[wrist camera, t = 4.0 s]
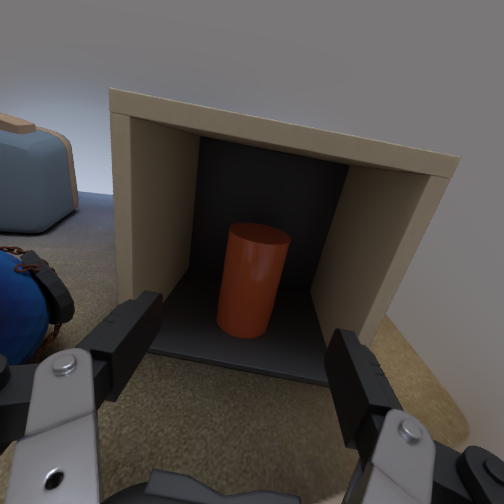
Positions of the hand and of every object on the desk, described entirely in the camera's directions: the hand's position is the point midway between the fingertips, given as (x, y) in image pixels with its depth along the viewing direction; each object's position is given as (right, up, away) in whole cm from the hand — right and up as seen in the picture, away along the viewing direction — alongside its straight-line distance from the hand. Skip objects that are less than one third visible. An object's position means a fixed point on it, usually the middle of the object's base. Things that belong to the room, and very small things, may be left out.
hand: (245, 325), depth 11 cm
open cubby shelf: (-1, -4, +17) cm, 17 cm away
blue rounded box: (-41, +9, +29) cm, 51 cm away
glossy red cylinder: (-1, -4, +15) cm, 15 cm away
